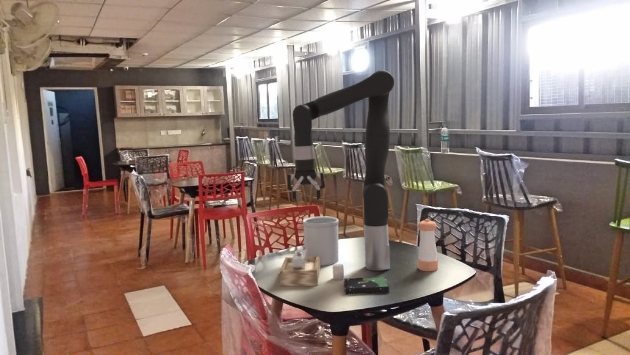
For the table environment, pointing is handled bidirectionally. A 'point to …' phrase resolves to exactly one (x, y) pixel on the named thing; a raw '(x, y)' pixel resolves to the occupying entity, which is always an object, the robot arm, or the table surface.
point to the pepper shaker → (427, 246)
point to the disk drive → (366, 285)
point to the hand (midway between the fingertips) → (307, 200)
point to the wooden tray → (300, 273)
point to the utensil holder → (321, 238)
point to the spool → (338, 272)
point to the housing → (300, 260)
